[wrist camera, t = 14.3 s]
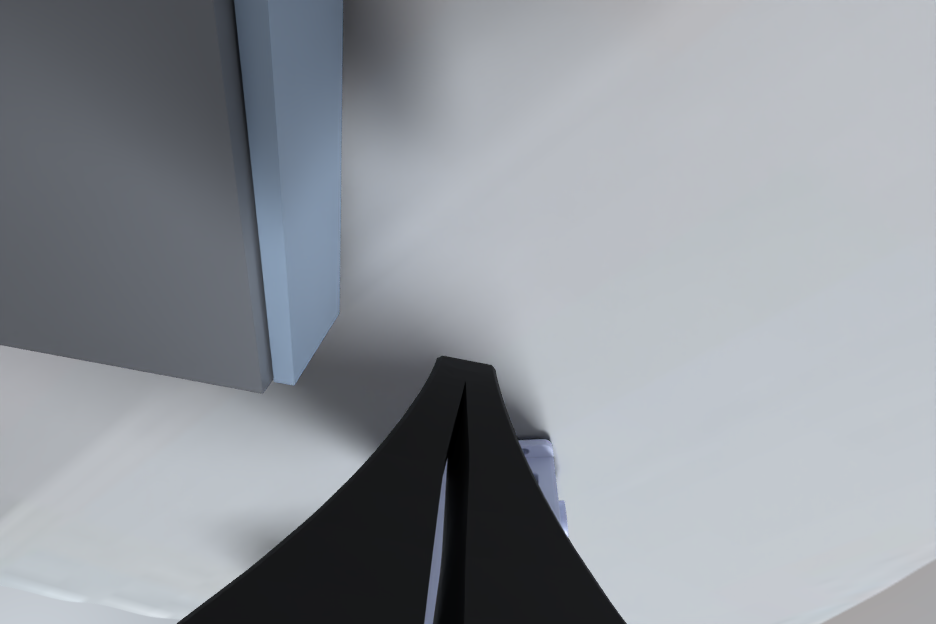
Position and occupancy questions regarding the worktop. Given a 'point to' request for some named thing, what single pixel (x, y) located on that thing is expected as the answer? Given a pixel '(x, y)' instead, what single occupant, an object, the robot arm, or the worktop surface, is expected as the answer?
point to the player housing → (130, 189)
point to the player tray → (295, 166)
